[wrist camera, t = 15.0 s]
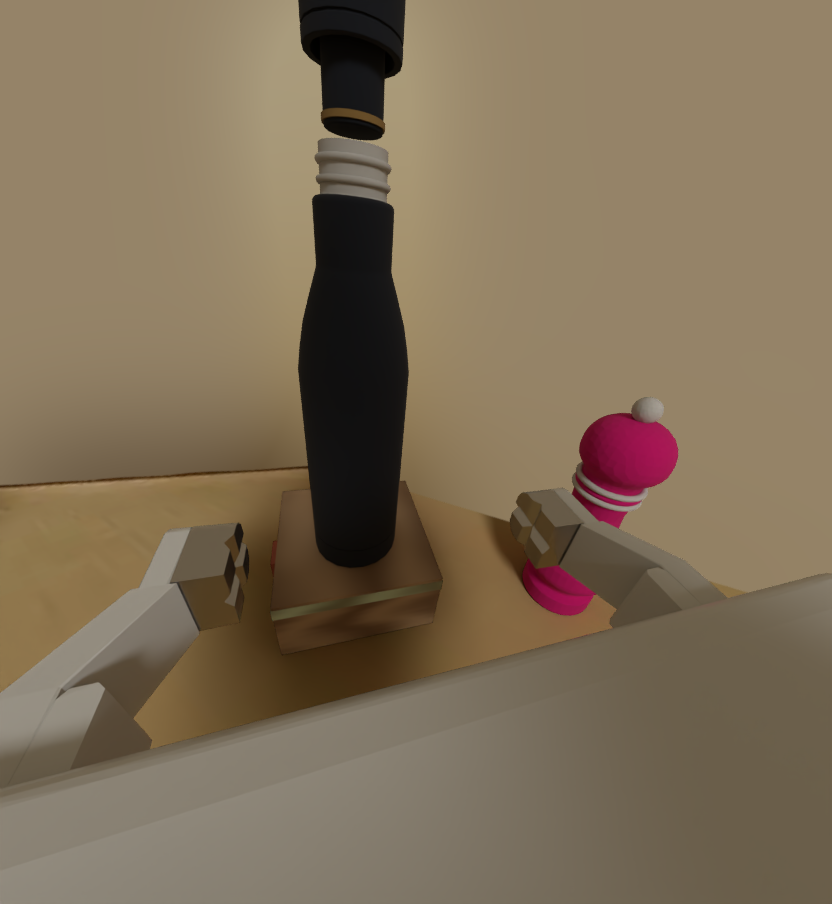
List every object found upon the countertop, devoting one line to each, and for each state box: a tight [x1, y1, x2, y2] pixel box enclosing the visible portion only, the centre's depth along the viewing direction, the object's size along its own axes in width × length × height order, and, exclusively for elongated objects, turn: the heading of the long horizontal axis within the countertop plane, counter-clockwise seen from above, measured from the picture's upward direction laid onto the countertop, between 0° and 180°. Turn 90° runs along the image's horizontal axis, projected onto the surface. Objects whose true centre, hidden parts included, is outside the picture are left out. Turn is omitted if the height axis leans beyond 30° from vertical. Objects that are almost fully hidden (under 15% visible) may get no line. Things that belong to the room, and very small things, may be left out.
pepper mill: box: [523, 397, 678, 615], centre depth 27 cm, size 7×7×20 cm
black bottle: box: [298, 0, 409, 568], centre depth 19 cm, size 6×6×30 cm
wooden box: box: [270, 481, 443, 655], centre depth 29 cm, size 13×13×6 cm
